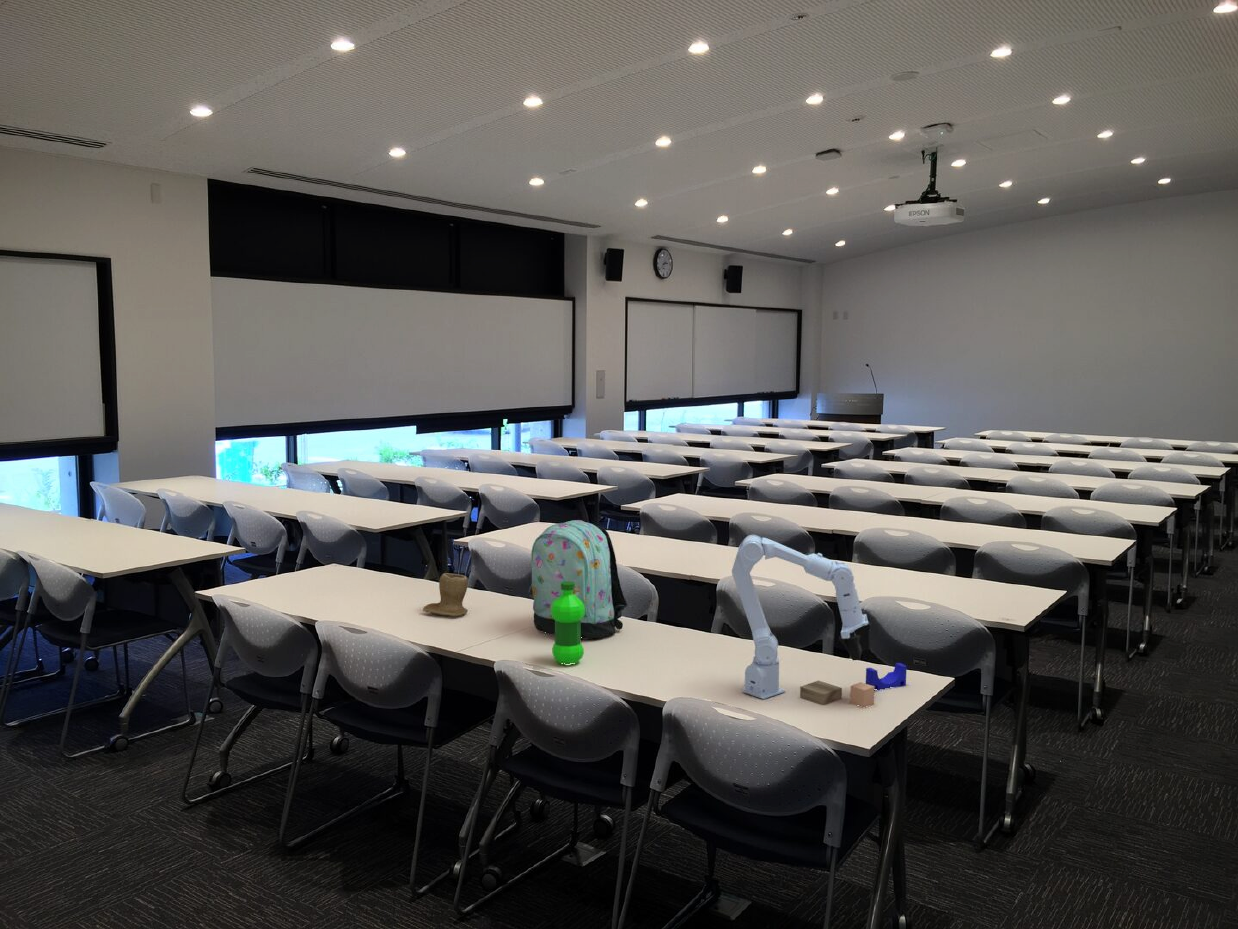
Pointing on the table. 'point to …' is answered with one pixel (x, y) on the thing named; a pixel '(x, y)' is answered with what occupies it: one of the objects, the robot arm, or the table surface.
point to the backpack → (577, 576)
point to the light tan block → (862, 694)
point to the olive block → (820, 692)
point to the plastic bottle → (567, 625)
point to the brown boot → (450, 595)
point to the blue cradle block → (887, 677)
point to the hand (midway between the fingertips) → (861, 654)
